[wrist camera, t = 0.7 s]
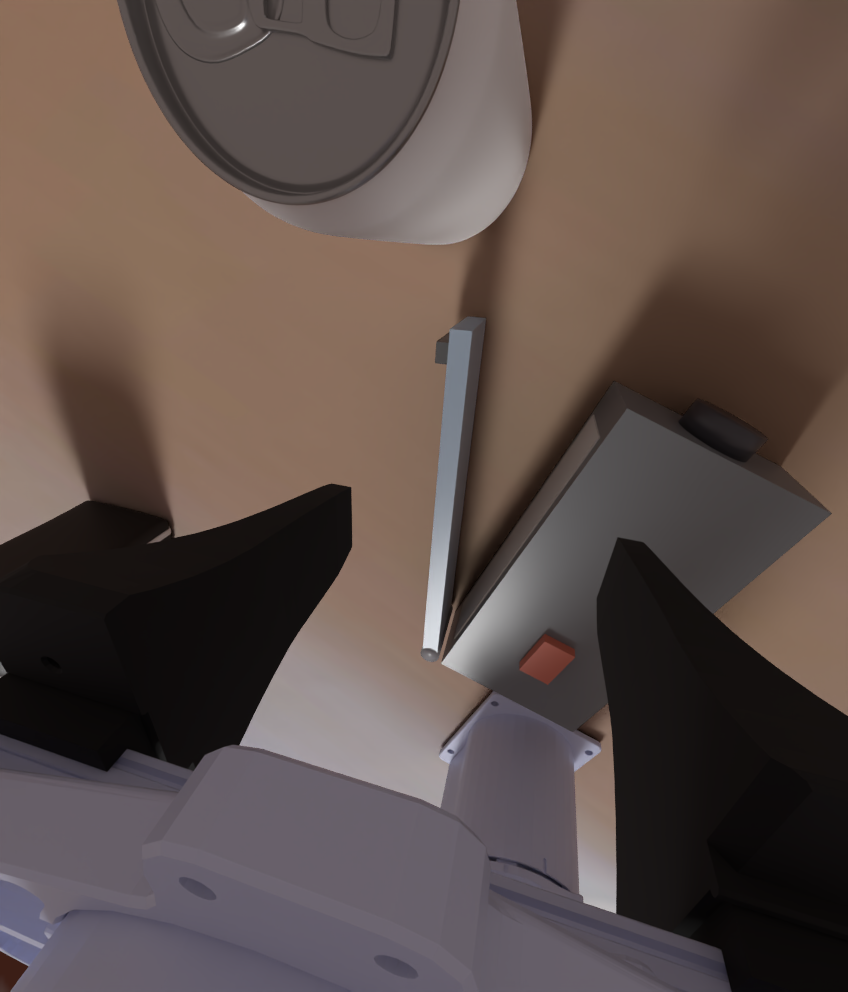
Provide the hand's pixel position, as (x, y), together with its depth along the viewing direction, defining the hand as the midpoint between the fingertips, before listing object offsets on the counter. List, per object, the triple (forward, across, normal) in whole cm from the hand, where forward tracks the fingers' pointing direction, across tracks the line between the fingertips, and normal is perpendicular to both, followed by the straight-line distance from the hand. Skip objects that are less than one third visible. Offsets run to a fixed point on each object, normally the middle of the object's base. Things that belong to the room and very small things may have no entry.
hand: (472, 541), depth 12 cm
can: (+11, +4, -10) cm, 15 cm away
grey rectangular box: (+10, -5, +6) cm, 13 cm away
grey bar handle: (+10, +2, +4) cm, 11 cm away
